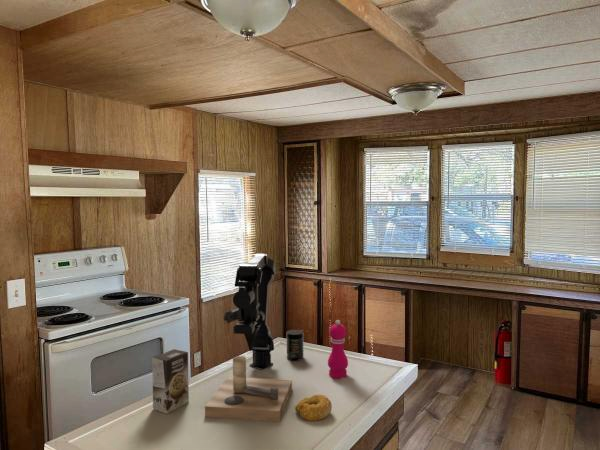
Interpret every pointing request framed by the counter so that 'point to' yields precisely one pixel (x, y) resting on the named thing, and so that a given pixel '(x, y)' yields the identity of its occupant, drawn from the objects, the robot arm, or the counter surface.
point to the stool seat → (249, 400)
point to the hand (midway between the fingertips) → (250, 346)
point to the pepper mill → (337, 351)
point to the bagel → (314, 407)
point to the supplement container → (294, 344)
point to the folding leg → (240, 380)
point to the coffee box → (170, 380)
